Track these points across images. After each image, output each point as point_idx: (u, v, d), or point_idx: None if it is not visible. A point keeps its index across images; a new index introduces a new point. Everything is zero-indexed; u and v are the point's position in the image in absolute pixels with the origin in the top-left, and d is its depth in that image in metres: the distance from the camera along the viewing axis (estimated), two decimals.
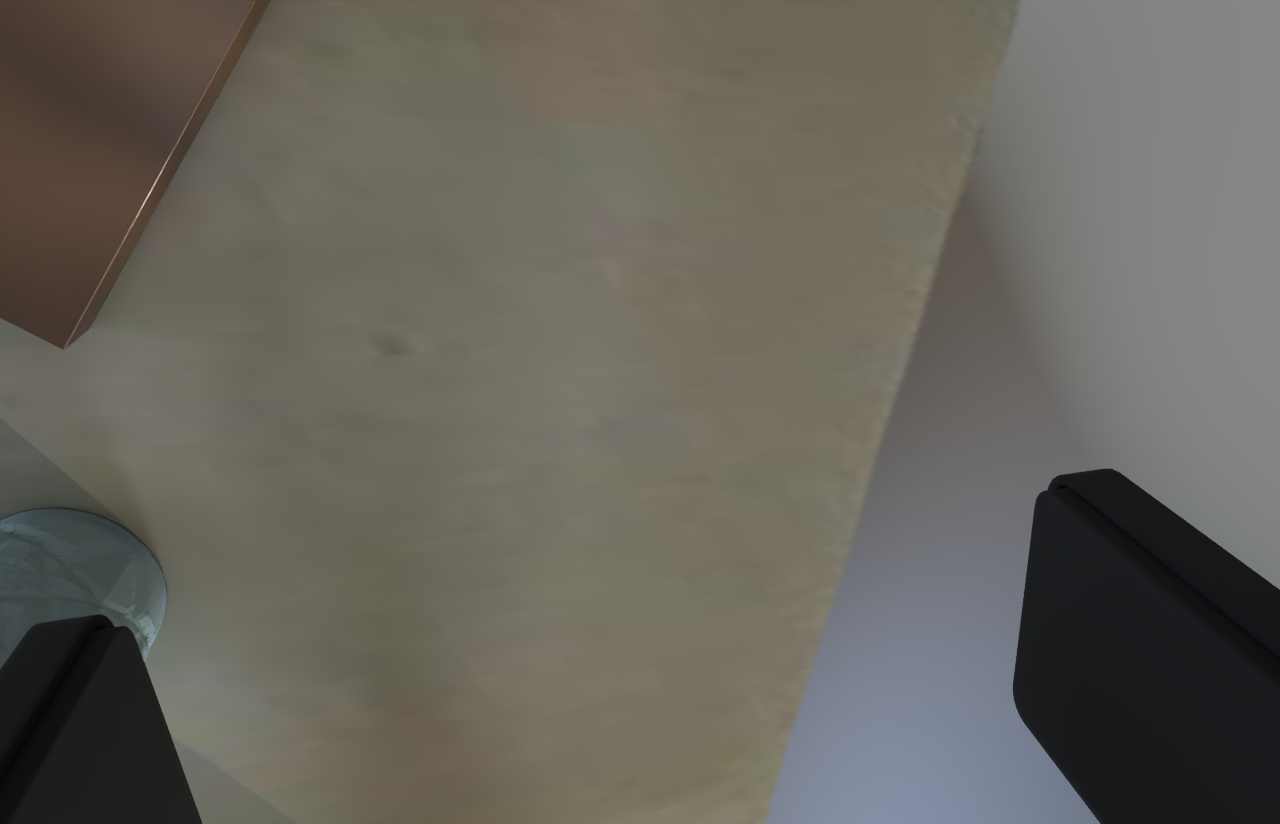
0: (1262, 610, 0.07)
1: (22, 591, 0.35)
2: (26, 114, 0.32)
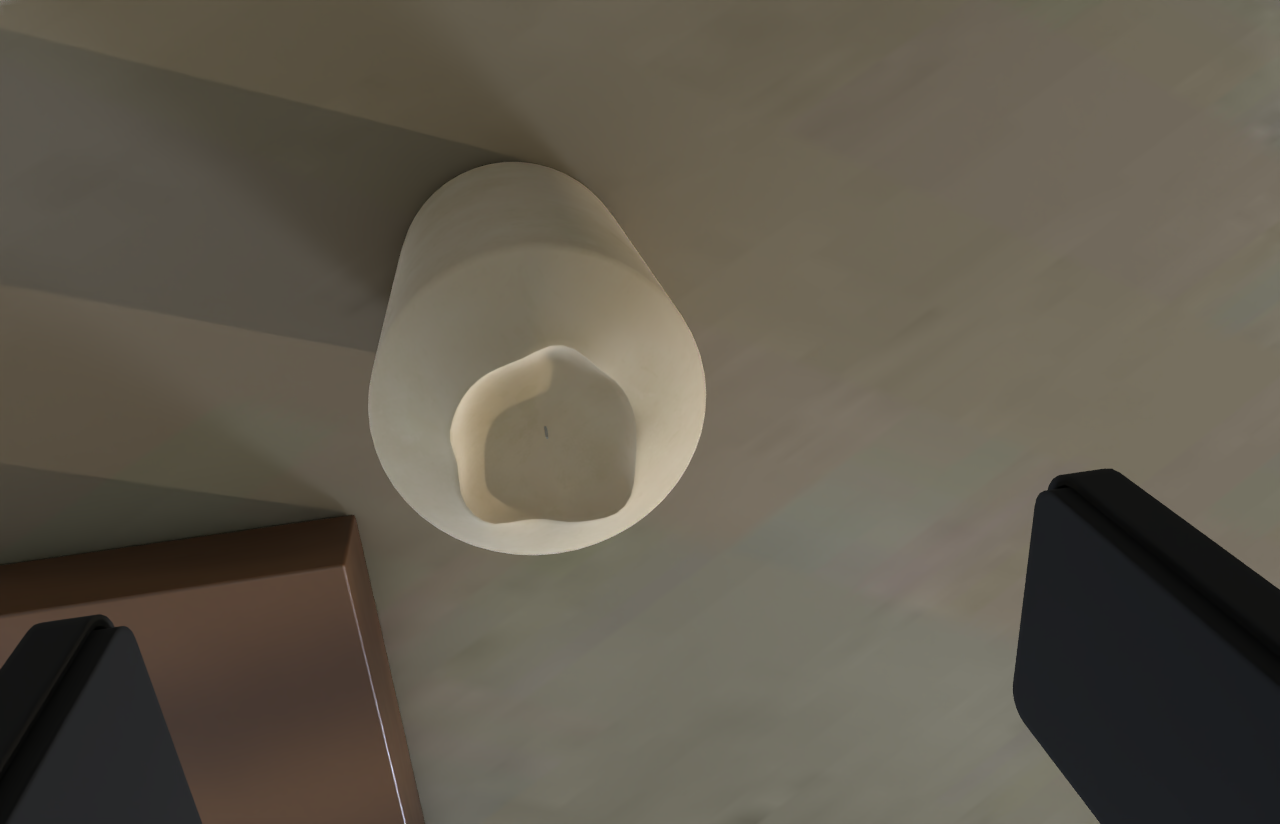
0: (1263, 609, 0.07)
1: None
2: None
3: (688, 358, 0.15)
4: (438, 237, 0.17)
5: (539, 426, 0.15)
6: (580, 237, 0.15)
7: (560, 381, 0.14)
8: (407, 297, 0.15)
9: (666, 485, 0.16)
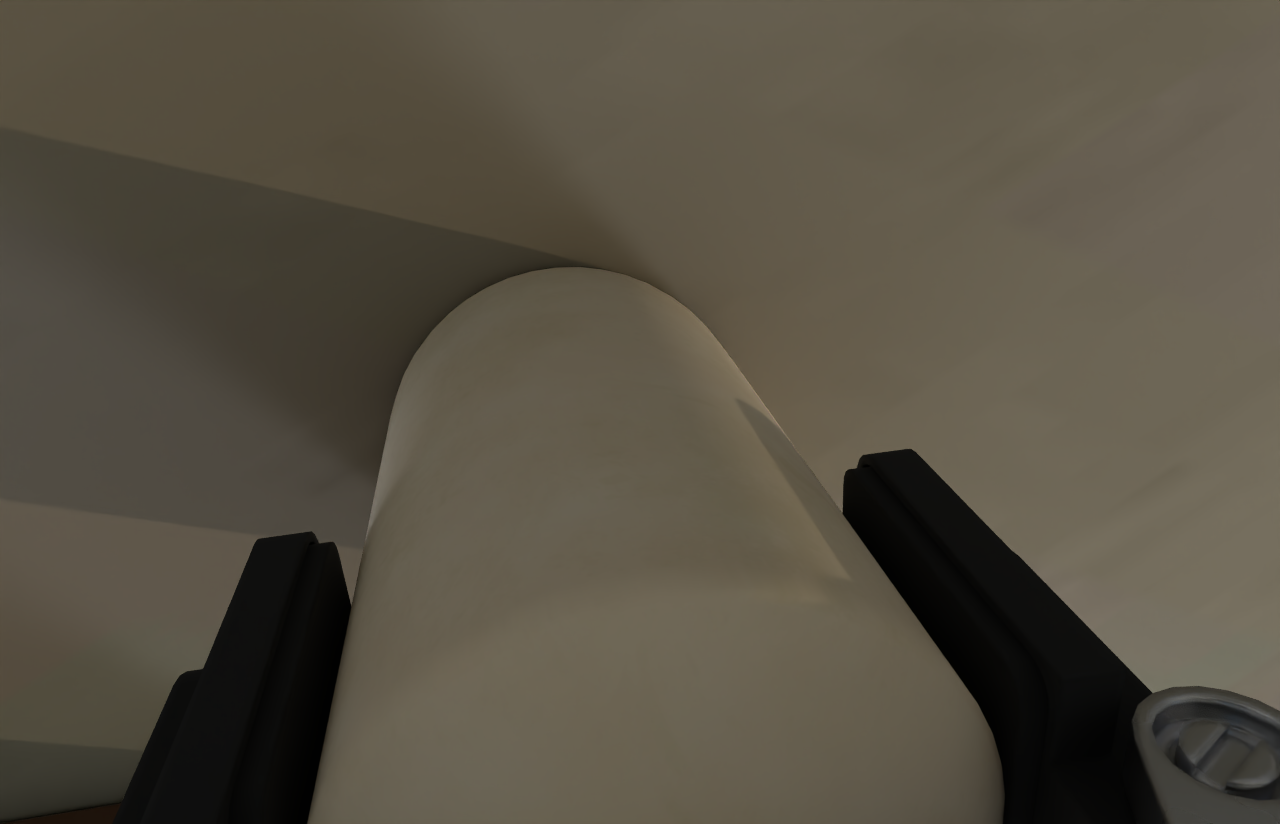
0: (993, 572, 0.08)
1: None
2: None
3: (987, 789, 0.07)
4: (451, 474, 0.09)
5: None
6: (754, 525, 0.07)
7: None
8: (382, 679, 0.07)
9: None
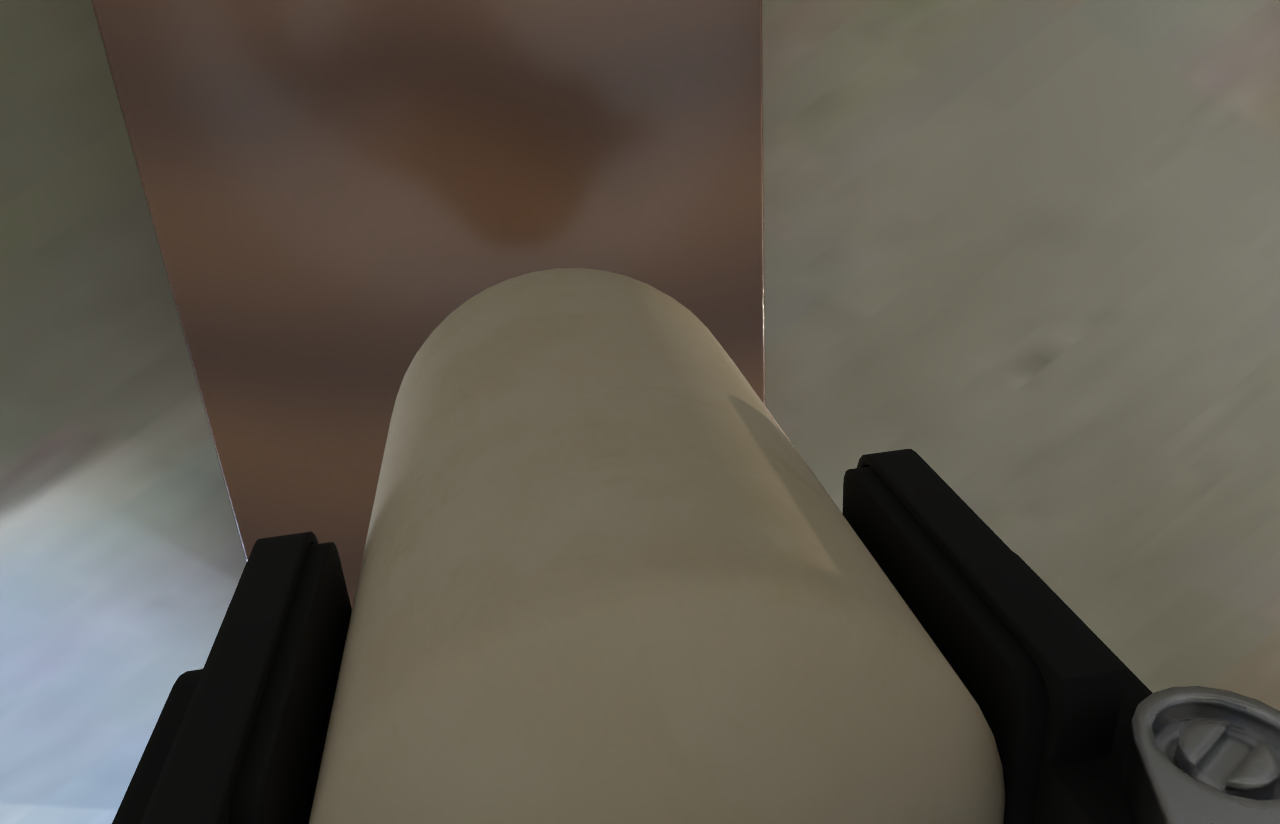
0: (993, 572, 0.08)
1: None
2: None
3: (988, 790, 0.07)
4: (452, 476, 0.09)
5: None
6: (755, 526, 0.07)
7: None
8: (383, 681, 0.07)
9: None
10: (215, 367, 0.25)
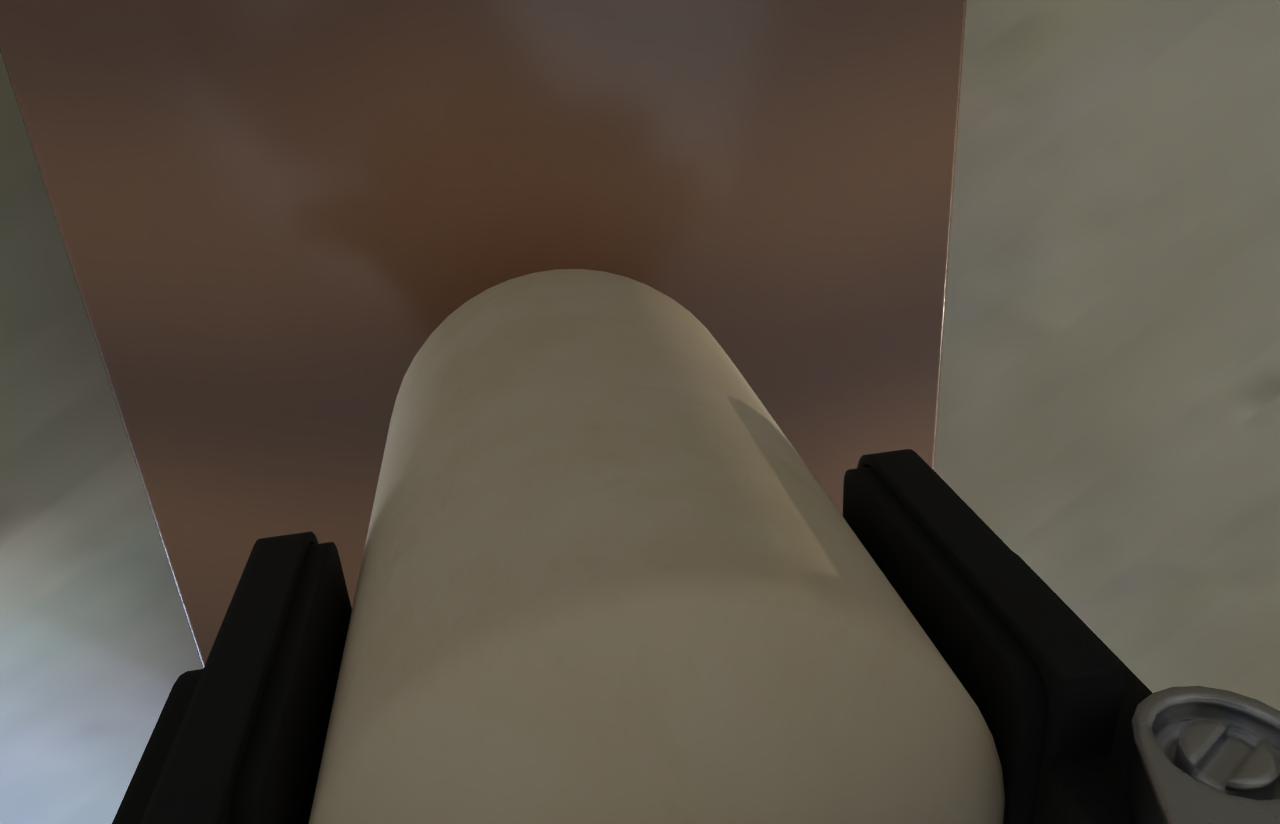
0: (992, 572, 0.08)
1: None
2: None
3: (988, 793, 0.07)
4: (452, 477, 0.09)
5: None
6: (755, 528, 0.07)
7: None
8: (383, 683, 0.07)
9: None
10: (154, 417, 0.17)
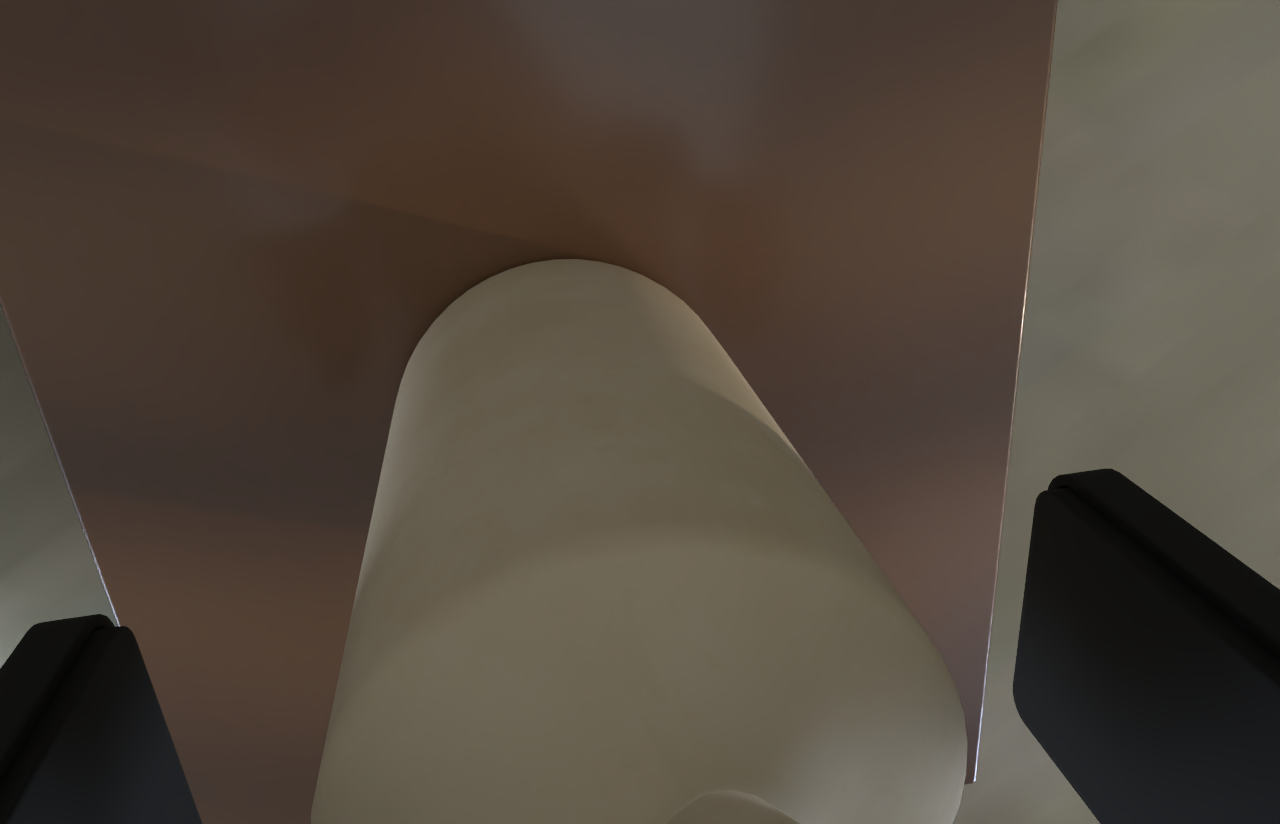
0: (1262, 610, 0.07)
1: None
2: None
3: (949, 732, 0.08)
4: (454, 447, 0.09)
5: None
6: (734, 488, 0.08)
7: (703, 816, 0.07)
8: (390, 627, 0.07)
9: None
10: (108, 490, 0.15)
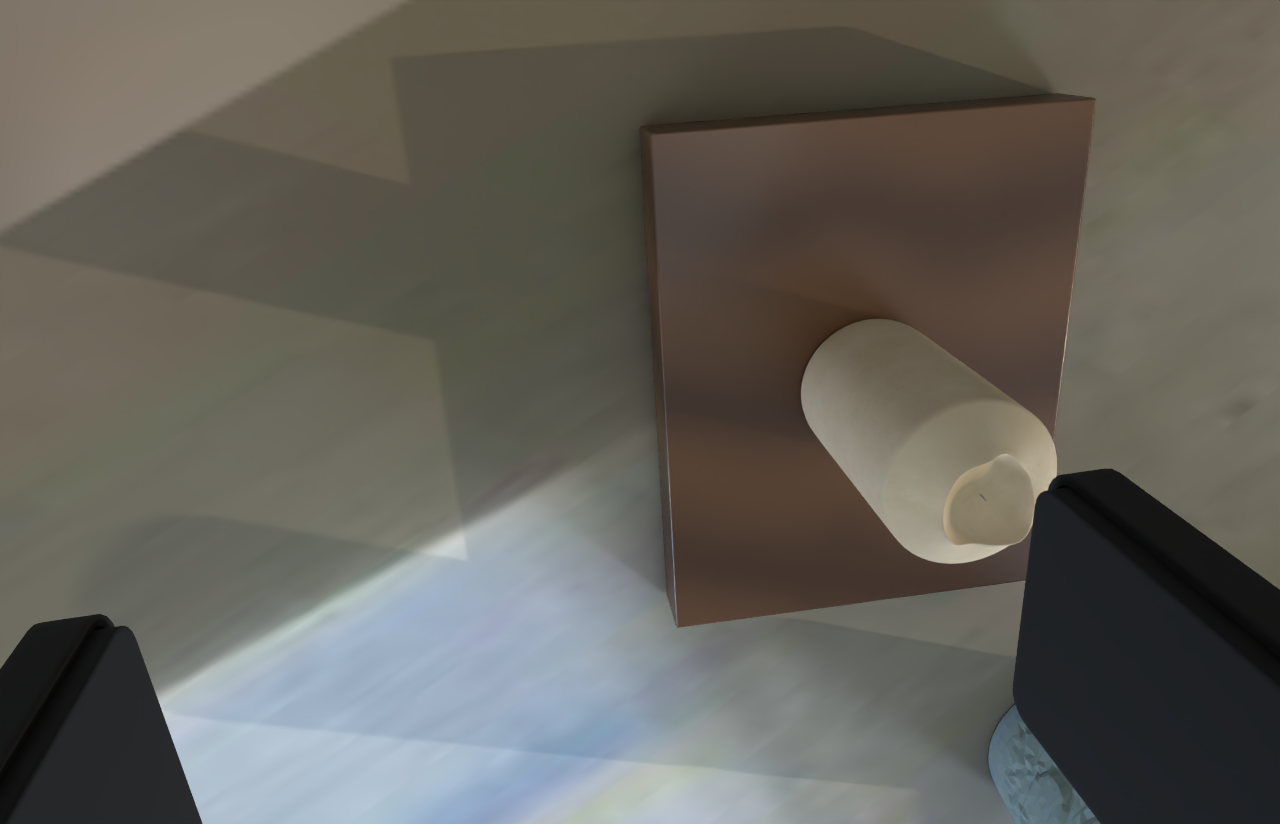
0: (1262, 610, 0.07)
1: None
2: None
3: (1053, 458, 0.28)
4: (894, 383, 0.30)
5: (977, 494, 0.28)
6: (994, 391, 0.28)
7: (993, 470, 0.27)
8: (909, 424, 0.28)
9: None
10: (680, 412, 0.35)
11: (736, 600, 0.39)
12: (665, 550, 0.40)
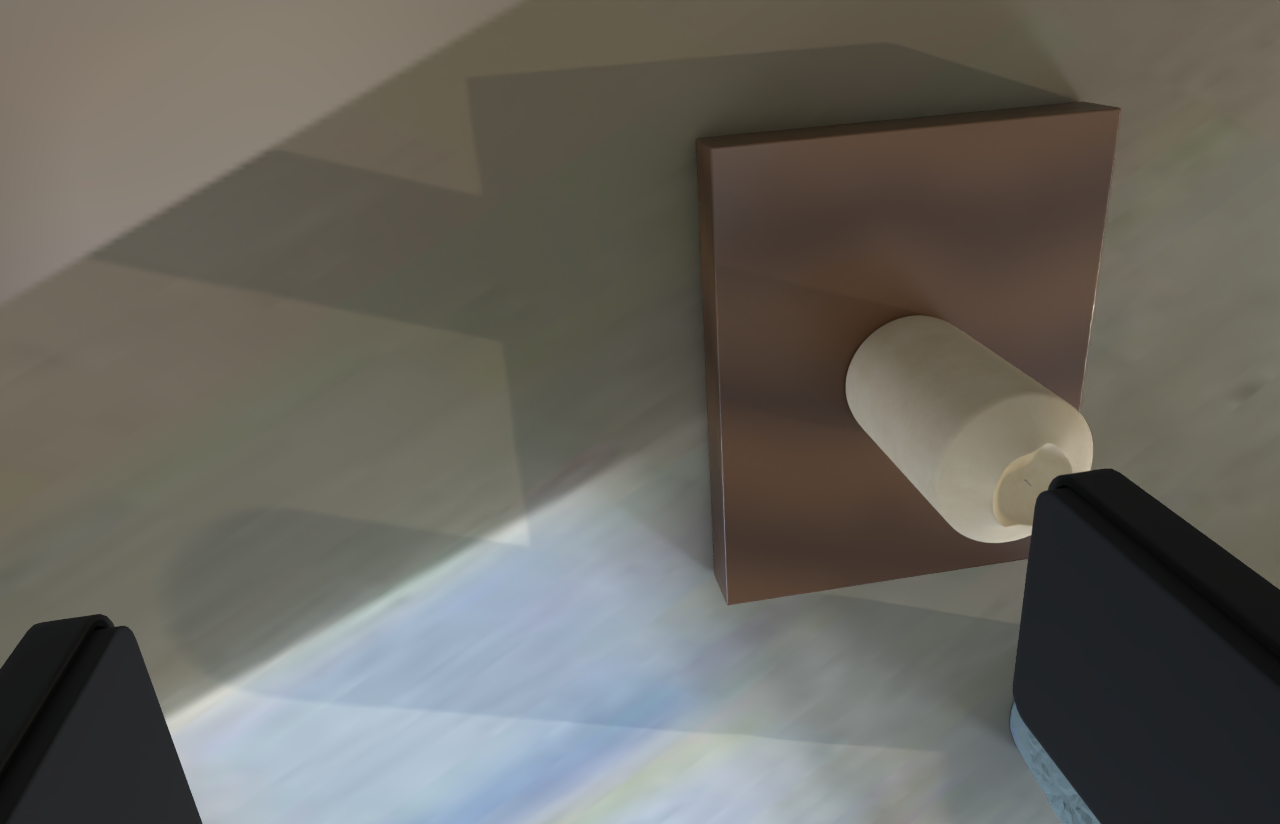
0: (1262, 610, 0.07)
1: None
2: None
3: (1090, 445, 0.31)
4: (942, 378, 0.32)
5: (1022, 479, 0.30)
6: (1036, 385, 0.31)
7: (1037, 458, 0.30)
8: (960, 416, 0.30)
9: None
10: (734, 405, 0.38)
11: (782, 579, 0.42)
12: (714, 533, 0.42)
